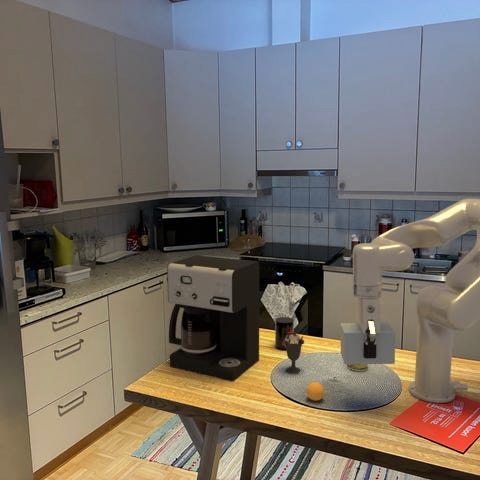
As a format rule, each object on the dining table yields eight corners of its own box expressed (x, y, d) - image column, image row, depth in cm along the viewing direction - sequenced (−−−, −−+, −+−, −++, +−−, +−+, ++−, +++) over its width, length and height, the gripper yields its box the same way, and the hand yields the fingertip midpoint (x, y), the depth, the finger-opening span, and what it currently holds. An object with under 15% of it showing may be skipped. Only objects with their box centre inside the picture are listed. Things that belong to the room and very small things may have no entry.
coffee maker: (158, 365, 161) (155, 262, 156) (190, 345, 178) (188, 252, 173) (232, 382, 148) (231, 271, 143) (259, 359, 165) (259, 259, 160)
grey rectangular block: (388, 352, 136) (388, 322, 135) (394, 363, 129) (395, 332, 127) (340, 352, 137) (340, 323, 136) (344, 364, 130) (344, 333, 128)
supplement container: (278, 351, 173) (278, 323, 171) (272, 344, 179) (272, 317, 177) (296, 349, 174) (296, 321, 173) (289, 343, 181) (289, 316, 179)
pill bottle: (344, 369, 157) (345, 335, 155) (350, 362, 163) (351, 329, 161) (364, 373, 154) (366, 338, 152) (369, 366, 160) (370, 332, 158)
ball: (323, 395, 140) (323, 379, 139) (324, 404, 135) (325, 387, 134) (305, 395, 140) (306, 378, 139) (306, 403, 135) (306, 386, 134)
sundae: (279, 368, 159) (279, 324, 156) (297, 365, 161) (298, 321, 159) (288, 376, 152) (288, 330, 150) (307, 373, 155) (308, 328, 152)
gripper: (389, 298, 121) (388, 365, 124) (374, 281, 138) (374, 339, 141) (358, 299, 121) (358, 365, 124) (348, 281, 139) (348, 340, 142)
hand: (366, 351), depth 133 cm, fingers closed on grey rectangular block, 7 cm apart
